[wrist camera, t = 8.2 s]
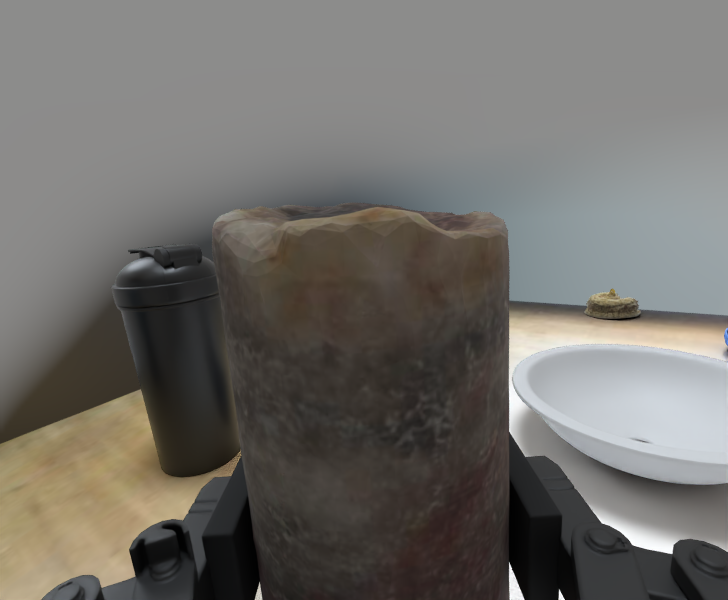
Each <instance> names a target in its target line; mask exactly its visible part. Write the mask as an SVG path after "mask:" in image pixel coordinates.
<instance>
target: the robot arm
mask: <svg viewBox="0 0 728 600" xmlns="http://www.w3.org/2000/svg"><path fill="white" fill-rule="evenodd" d="M129 551H130V555H131V559H132V563H133V567H134V571H135V575H136V577H133V578H131V579H128V580H126V581H122V582H119V583H116V584H113V585H110V586H107V587H104V588H101V585H100V581H99V579H98V578H96V577H95V576H93V575H82V576H79V577H75V578H72V579H69V580H68V581H66V582H64V583H62V584H60V585H58V586H57V587H55V588H54V589H53V590H51V591H50V592H49V593H48V594H46V595H45V596H44V597H43V599H42V600H255V596H256V593H257V589H258V586H259V582H260V577H259V569H258V561H257V553H256V549H255V544H254V540H253V530H252V520H251V513H250V506H249V498H248V491H247V485H246V479H245V474H244V468H243V461H242V456H241V458H240V460H239V462H238V464H237V466H236V468H235V470H234V472H233V474H232V476H229V477H214V478H213V479H212V480H211V481H210V482H209V483H207V484H206V485H205V486H204V487H203V488H202V489H201V491H200V492H199V494H198V496H197V498H196V499H195V503H193V505H192V506H191V508H190V510H189V513H188V514H187V515H186V517H185V518H184V520H183V521H182V520H176V519H171V520H166V521H162V522H159V523H157V524H154V525H152V526H150V527H149V528H147V529H146V530H144V531H143V532H141V533H140V534H139V536H138V537H137V538H136V539H135V540H134V541H133V543H132V545H131V547H130V549H129ZM509 562H510V565H511V567H512V570H513V572H514V575H515V577H516V580H517V582H518V584H519V587H520V589H521V592H522V594H523V597H524V599H525V600H558V597H559V589H560V591H561V593H562V595H563V597H564V599H565V600H728V552H726V551H725V550H723V549H721V548H719V547H718V546H715V545H712V544H710V543H707V542H704V541H699V540H693V539H686V540H680V541H678V542H677V543H675V544H674V547H673V554H668V553H663V552H658V551H652V550H647V549H643V548H639V547H636V546H633V545H632V544H631V543H630V541H629V540H628V539H627V538H626V537H625V536H624V535H623V534H622V533H621V532H619V531H617V530H616V529H614V528H612V527H610V526H608V525H605V524H602V523H601V522H600V521H599V519H598V518H597V517H596V515H595V514H594V513H593V511H592V510H591V509H590V507H589V506H588V504H587V503H586V502H585V500H584V499H583V498H582V496H581V495H580V494H579V492H578V491H577V490H576V489H575V488H574V486H573V484H572V483H571V482H570V480H569V479H567V476H566V475H565V474H564V472H563V471H562V470H561V468H560V467H559V466H558V465H557V464H556V463H554V462H553V461H551V460H550V459H548V458H547V457H545V456H535V457H525V456H524V454H523V453H522V451H521V450H520V448H519V446H518V445H517V443H516V442H515V440H514V439H513V437H512V435H511V434H510V432H509Z"/></svg>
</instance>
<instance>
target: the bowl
mask: <svg viewBox="0 0 728 600" xmlns="http://www.w3.org/2000/svg"><path fill="white" fill-rule="evenodd" d="M724 338H725V342H726V344H727V346H728V328H727V329H726V331H725V335H724Z"/></svg>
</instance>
